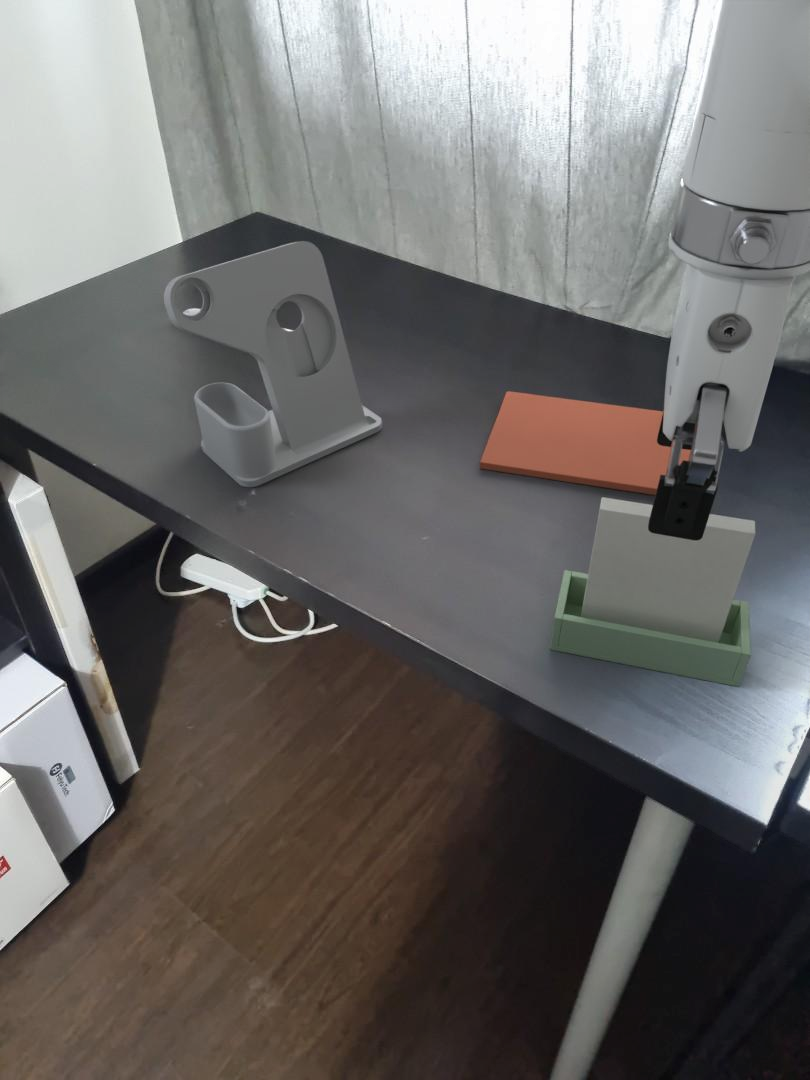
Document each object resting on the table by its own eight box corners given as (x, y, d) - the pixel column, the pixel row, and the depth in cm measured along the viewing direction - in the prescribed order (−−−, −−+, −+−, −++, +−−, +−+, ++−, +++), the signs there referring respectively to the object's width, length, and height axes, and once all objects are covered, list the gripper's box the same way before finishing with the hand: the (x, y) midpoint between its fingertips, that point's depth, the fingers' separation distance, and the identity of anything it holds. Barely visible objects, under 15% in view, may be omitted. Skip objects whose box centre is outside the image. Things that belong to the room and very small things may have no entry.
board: (713, 643, 62) (755, 520, 55) (713, 657, 61) (755, 533, 54) (580, 618, 65) (601, 496, 57) (578, 631, 64) (599, 509, 56)
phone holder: (243, 492, 78) (211, 315, 67) (192, 446, 85) (155, 276, 73) (387, 427, 87) (381, 259, 75) (332, 390, 93) (318, 229, 81)
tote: (737, 634, 64) (749, 602, 61) (738, 687, 60) (751, 654, 57) (559, 601, 67) (564, 569, 64) (549, 649, 63) (554, 617, 61)
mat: (694, 422, 87) (696, 415, 86) (691, 501, 76) (692, 494, 76) (506, 397, 91) (506, 390, 90) (479, 468, 81) (479, 462, 80)
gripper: (844, 302, 36) (739, 587, 47) (812, 177, 48) (735, 426, 59) (665, 282, 37) (605, 562, 48) (679, 166, 50) (629, 410, 61)
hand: (677, 487), depth 54 cm, fingers open, 9 cm apart
